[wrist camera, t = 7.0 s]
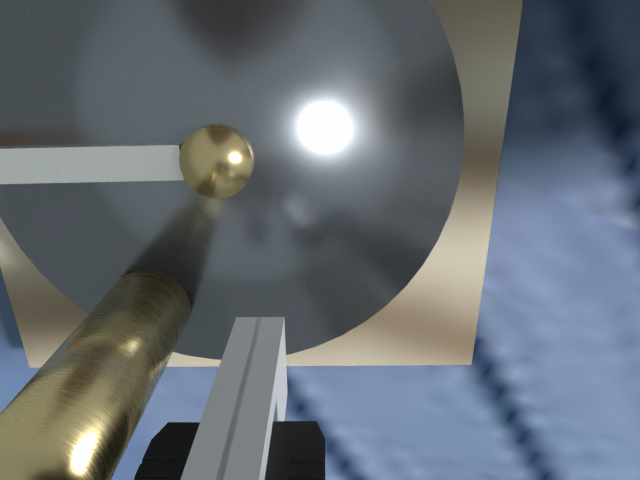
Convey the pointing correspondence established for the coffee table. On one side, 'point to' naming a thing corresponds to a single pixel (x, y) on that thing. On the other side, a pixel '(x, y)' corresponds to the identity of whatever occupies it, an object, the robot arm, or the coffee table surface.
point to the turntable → (210, 187)
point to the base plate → (432, 278)
